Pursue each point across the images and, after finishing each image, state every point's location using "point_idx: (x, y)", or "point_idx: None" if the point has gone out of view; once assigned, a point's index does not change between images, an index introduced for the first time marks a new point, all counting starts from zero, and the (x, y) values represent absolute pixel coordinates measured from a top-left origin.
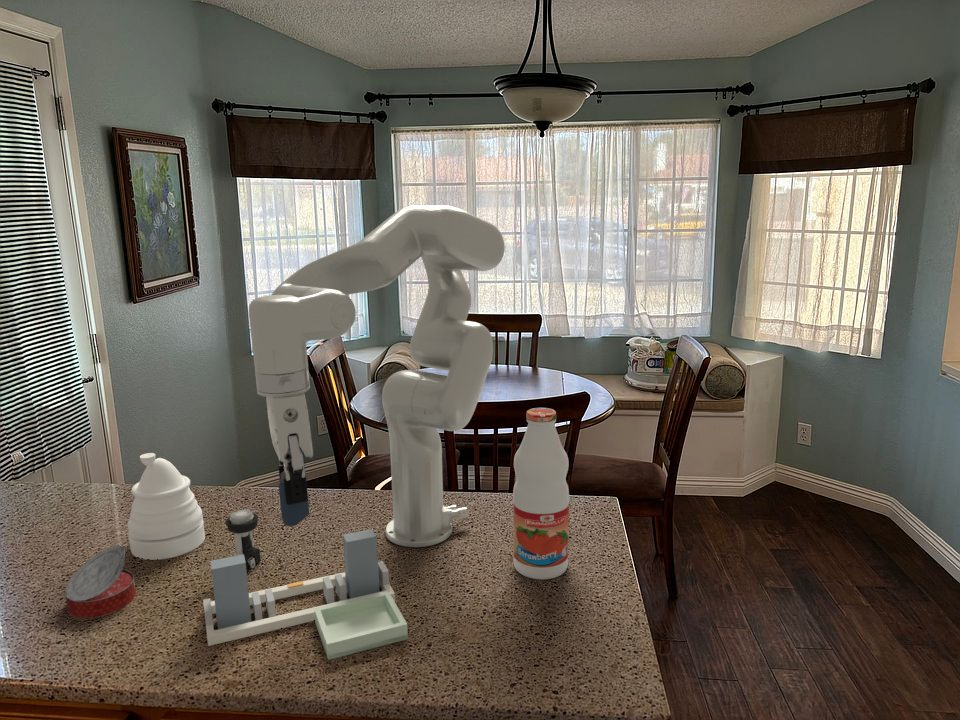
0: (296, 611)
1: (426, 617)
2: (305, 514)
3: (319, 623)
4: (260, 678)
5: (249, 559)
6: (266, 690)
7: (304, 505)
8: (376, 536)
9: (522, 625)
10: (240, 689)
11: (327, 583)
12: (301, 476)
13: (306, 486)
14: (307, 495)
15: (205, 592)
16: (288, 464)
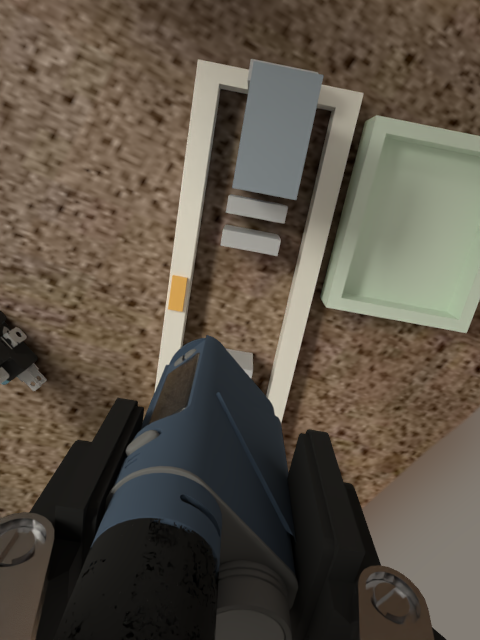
0: (285, 328)
1: (473, 61)
2: (234, 365)
3: (387, 318)
4: (410, 427)
5: (9, 345)
6: (446, 428)
7: (233, 387)
8: (323, 75)
9: None
10: (414, 457)
11: (253, 245)
12: (432, 628)
13: (344, 491)
14: (330, 448)
15: (81, 432)
16: (72, 590)
